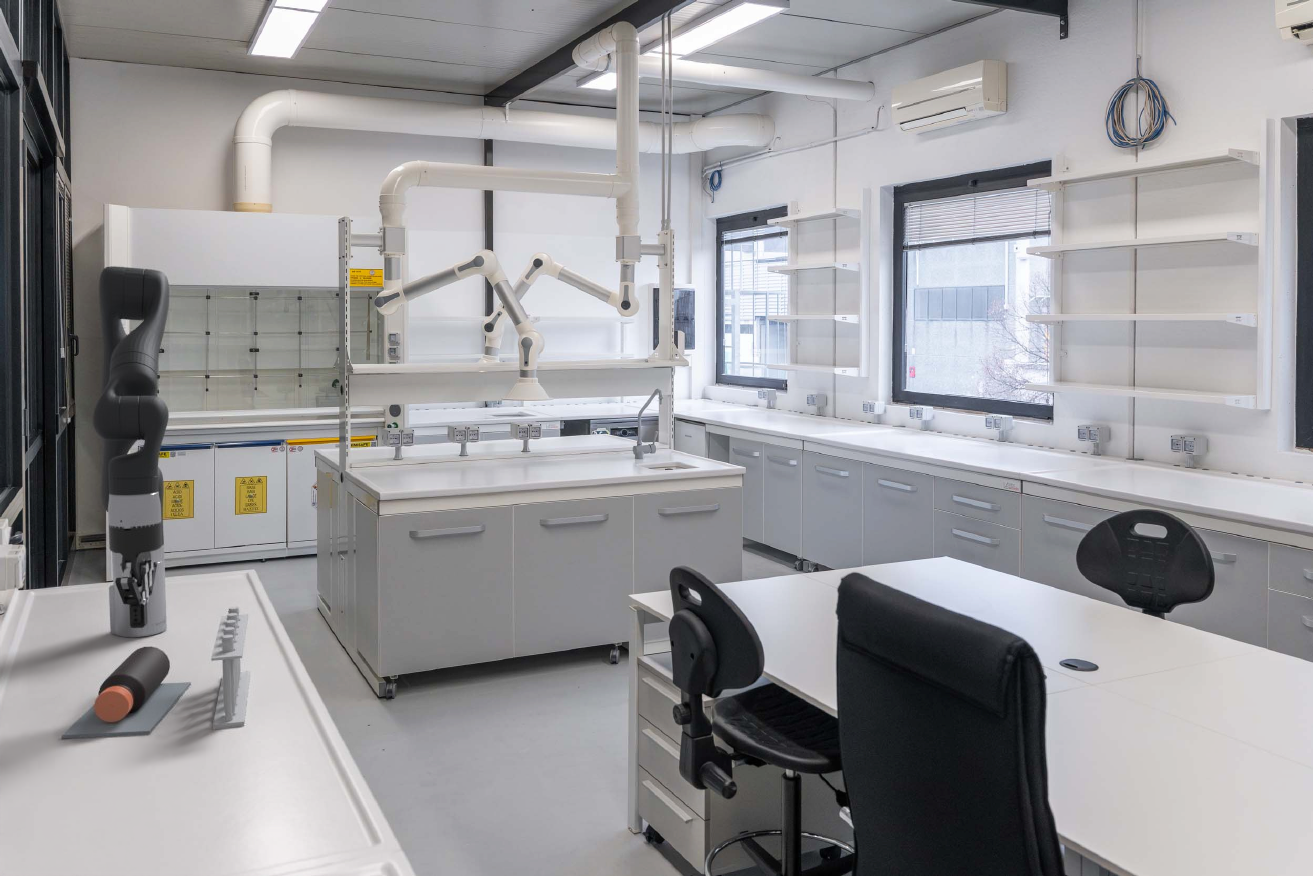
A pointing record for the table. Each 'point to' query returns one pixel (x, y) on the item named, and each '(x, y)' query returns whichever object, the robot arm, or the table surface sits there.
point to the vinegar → (131, 684)
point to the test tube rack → (231, 670)
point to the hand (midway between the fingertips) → (138, 626)
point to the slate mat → (131, 716)
